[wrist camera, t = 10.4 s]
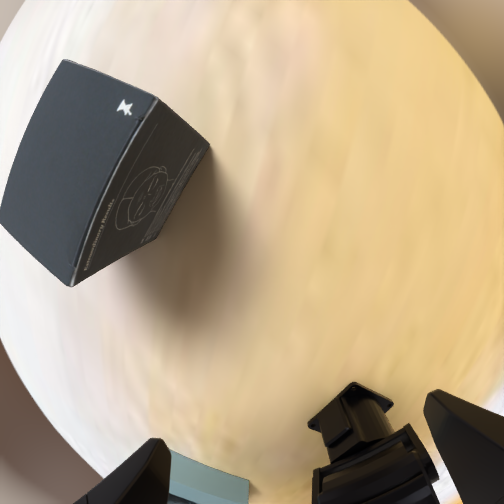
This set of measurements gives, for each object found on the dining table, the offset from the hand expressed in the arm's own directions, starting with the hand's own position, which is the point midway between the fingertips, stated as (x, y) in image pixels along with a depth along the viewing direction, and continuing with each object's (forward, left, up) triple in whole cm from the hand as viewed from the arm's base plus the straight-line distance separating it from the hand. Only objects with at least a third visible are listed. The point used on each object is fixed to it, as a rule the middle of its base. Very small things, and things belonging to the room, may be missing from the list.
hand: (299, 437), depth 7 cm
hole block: (-7, +28, -13) cm, 32 cm away
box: (+12, -2, -13) cm, 18 cm away
